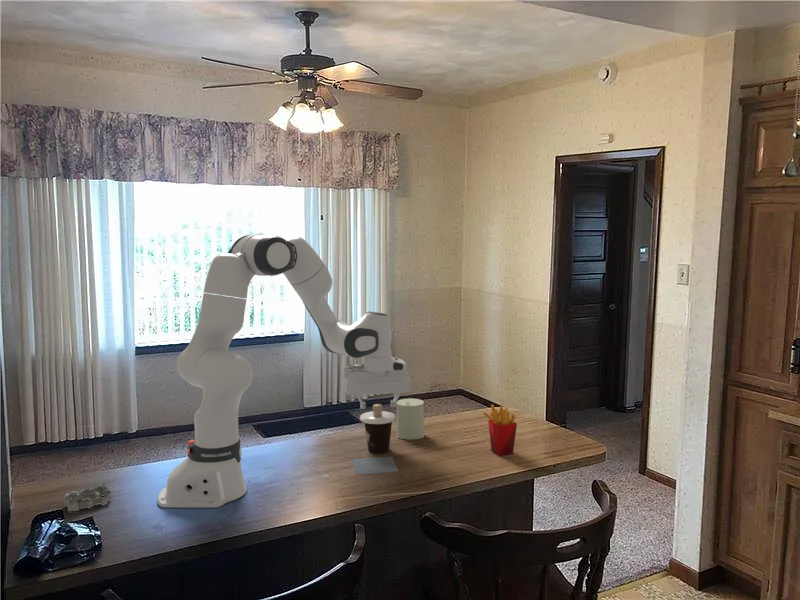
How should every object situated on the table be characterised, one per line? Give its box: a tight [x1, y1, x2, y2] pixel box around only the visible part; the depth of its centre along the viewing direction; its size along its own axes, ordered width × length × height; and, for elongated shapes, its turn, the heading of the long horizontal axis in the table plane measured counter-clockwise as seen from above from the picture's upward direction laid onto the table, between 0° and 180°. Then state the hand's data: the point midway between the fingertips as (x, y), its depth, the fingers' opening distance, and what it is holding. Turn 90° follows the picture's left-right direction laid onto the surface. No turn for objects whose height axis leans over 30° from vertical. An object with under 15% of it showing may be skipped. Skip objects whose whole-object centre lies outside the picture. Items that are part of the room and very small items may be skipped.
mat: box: [352, 456, 399, 476], centre depth 196 cm, size 12×12×1 cm
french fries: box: [482, 404, 518, 457], centre depth 204 cm, size 9×8×15 cm
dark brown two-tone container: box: [364, 422, 393, 455], centre depth 209 cm, size 12×9×10 cm
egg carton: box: [63, 482, 113, 512], centre depth 172 cm, size 11×8×4 cm
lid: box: [359, 403, 396, 424], centre depth 208 cm, size 11×11×4 cm
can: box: [396, 397, 425, 441], centre depth 222 cm, size 9×9×12 cm
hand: (378, 407), depth 208 cm, fingers open, 8 cm apart
